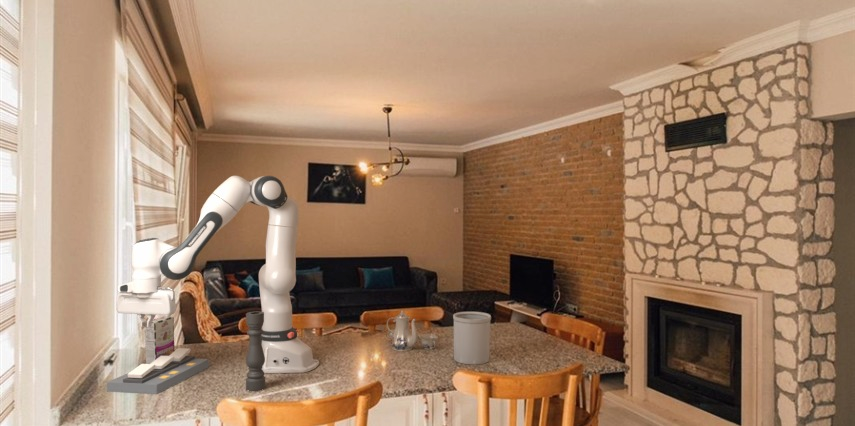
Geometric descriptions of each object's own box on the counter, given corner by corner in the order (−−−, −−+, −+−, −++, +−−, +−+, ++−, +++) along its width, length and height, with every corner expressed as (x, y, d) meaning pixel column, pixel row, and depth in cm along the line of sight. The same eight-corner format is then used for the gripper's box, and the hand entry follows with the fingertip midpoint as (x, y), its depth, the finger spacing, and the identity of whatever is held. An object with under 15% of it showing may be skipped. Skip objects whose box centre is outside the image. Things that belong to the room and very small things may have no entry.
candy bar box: (164, 356, 218) (163, 315, 218) (175, 357, 217) (174, 316, 217) (144, 364, 207) (143, 321, 207) (155, 365, 206) (155, 322, 206)
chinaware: (444, 351, 230) (446, 312, 231) (423, 356, 216) (425, 314, 217) (391, 342, 245) (393, 305, 246) (368, 347, 231) (370, 307, 232)
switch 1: (155, 367, 183) (155, 364, 183) (141, 378, 176) (141, 374, 176) (142, 366, 184) (141, 363, 184) (128, 377, 177) (127, 374, 177)
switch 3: (190, 351, 203) (190, 348, 203) (179, 361, 196) (179, 358, 196) (178, 350, 204) (178, 348, 203) (167, 360, 197) (166, 357, 197)
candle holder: (248, 385, 182) (247, 311, 182) (267, 385, 182) (266, 311, 182) (243, 391, 176) (243, 315, 175) (263, 391, 176) (262, 314, 176)
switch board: (209, 366, 203) (209, 356, 203) (156, 394, 174) (156, 381, 174) (165, 364, 206) (165, 354, 206) (106, 391, 177) (106, 379, 177)
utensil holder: (496, 357, 215) (495, 313, 215) (483, 367, 201) (483, 320, 201) (461, 353, 221) (461, 310, 221) (447, 362, 208) (447, 317, 207)
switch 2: (174, 359, 193) (173, 356, 193) (161, 369, 186) (161, 365, 186) (161, 358, 194) (160, 355, 194) (148, 368, 187) (148, 365, 187)
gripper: (180, 285, 184) (179, 326, 184) (126, 284, 188) (126, 323, 188) (168, 288, 178) (168, 330, 178) (113, 286, 181) (112, 327, 181)
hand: (146, 327), depth 183 cm, fingers closed
